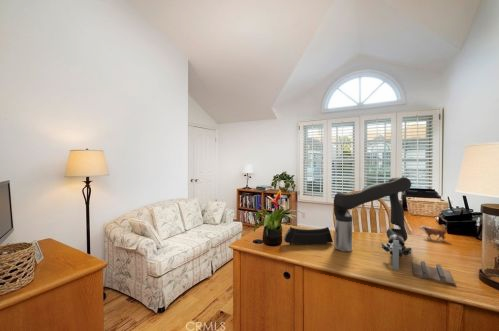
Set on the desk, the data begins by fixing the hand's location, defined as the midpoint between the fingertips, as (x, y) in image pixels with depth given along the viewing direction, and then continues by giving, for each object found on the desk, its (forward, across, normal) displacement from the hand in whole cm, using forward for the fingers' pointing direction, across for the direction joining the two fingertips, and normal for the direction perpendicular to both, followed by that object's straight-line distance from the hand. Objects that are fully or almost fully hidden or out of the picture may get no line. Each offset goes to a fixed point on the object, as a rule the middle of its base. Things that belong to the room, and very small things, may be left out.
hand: (395, 254), depth 108 cm
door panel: (-1, 0, +7) cm, 7 cm away
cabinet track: (-1, +14, +7) cm, 16 cm away
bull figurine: (-60, +20, +7) cm, 64 cm away
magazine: (-5, -46, +7) cm, 47 cm away
